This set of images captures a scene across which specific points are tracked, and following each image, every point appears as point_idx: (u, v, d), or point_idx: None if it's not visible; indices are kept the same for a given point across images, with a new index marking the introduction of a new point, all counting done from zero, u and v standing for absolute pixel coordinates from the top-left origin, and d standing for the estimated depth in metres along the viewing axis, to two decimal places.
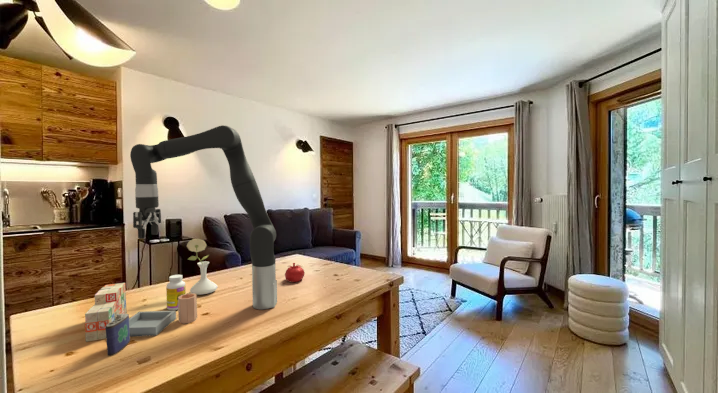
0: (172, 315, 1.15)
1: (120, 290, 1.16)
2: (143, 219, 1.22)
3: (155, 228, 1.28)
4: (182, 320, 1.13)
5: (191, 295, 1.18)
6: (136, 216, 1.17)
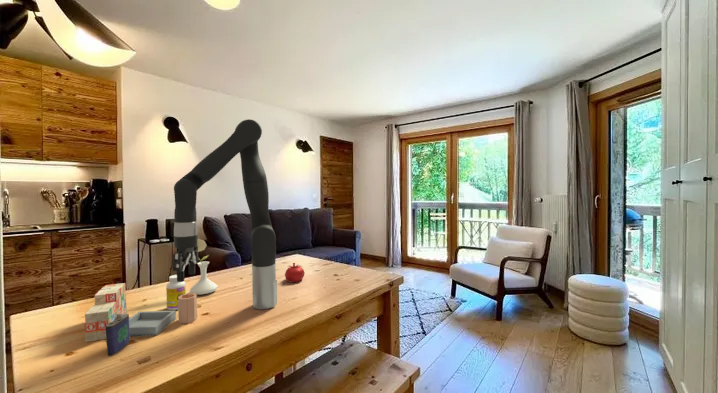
0: (172, 315, 1.15)
1: (120, 290, 1.15)
2: (182, 260, 1.12)
3: (193, 267, 1.19)
4: (182, 320, 1.13)
5: (191, 295, 1.18)
6: (176, 258, 1.08)
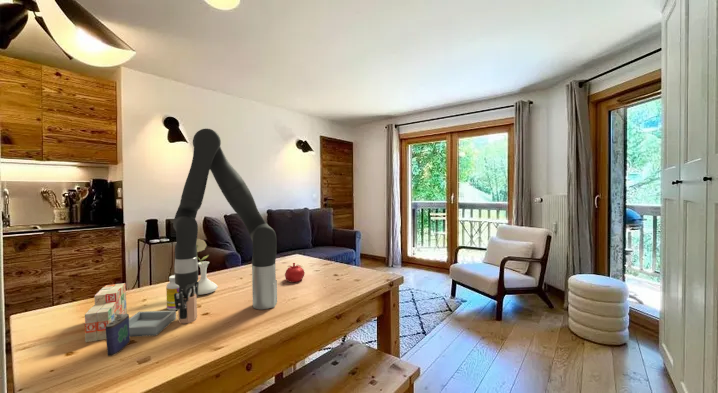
0: (172, 315, 1.15)
1: (120, 290, 1.15)
2: (184, 296, 1.13)
3: None
4: (182, 320, 1.13)
5: None
6: (178, 298, 1.09)
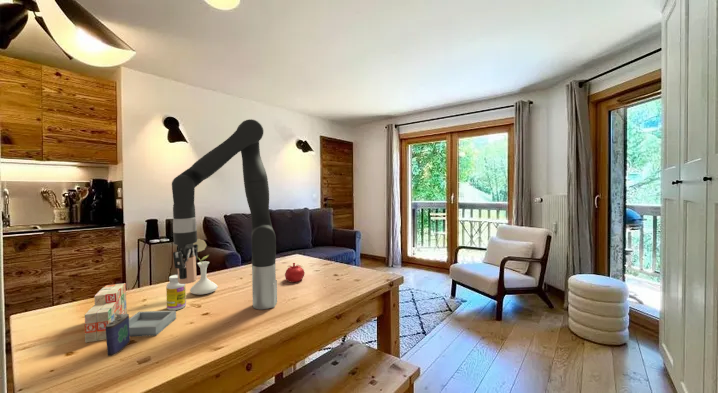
0: (172, 315, 1.15)
1: (120, 291, 1.15)
2: (183, 257, 1.12)
3: None
4: (181, 280, 1.12)
5: None
6: (177, 257, 1.08)
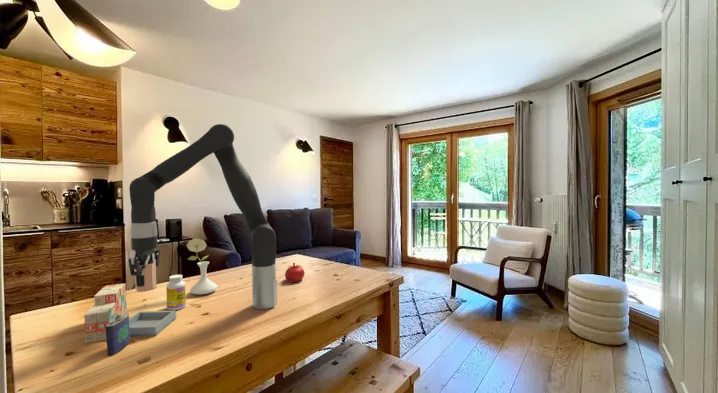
0: (172, 315, 1.15)
1: (120, 291, 1.15)
2: (141, 263, 1.07)
3: None
4: (139, 288, 1.07)
5: None
6: (132, 263, 1.02)
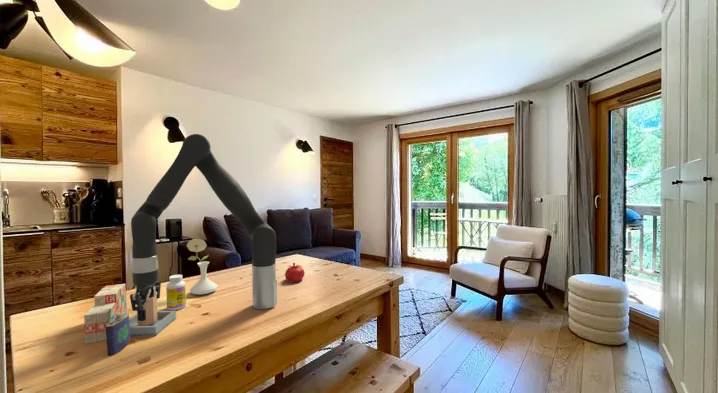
0: (172, 315, 1.15)
1: (120, 291, 1.15)
2: (142, 297, 1.07)
3: None
4: (140, 322, 1.07)
5: None
6: (134, 299, 1.03)
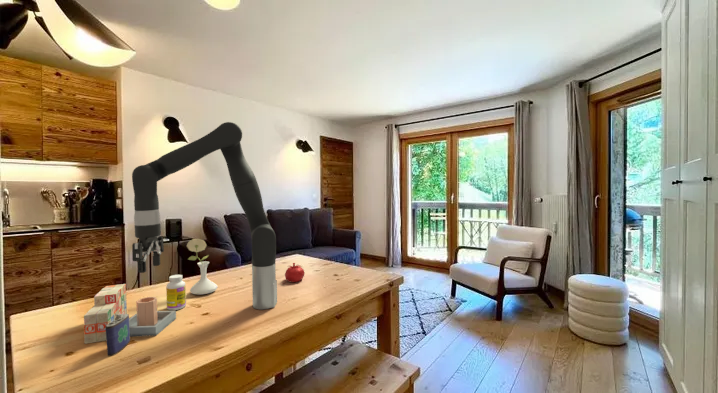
0: (172, 315, 1.15)
1: (120, 291, 1.14)
2: (144, 250, 1.07)
3: (157, 258, 1.14)
4: (140, 325, 1.07)
5: (151, 299, 1.12)
6: (136, 248, 1.03)
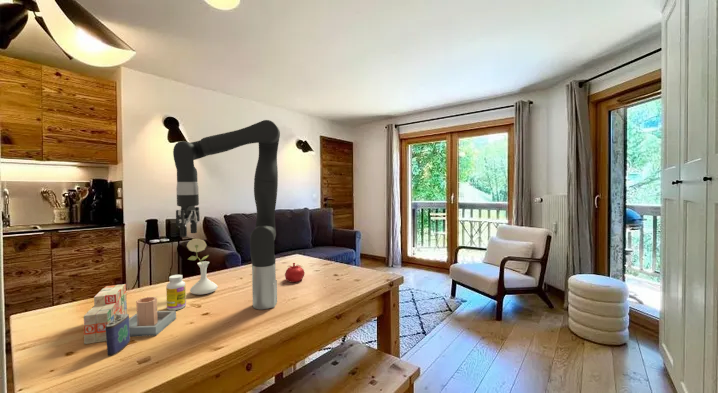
0: (172, 315, 1.15)
1: (120, 292, 1.14)
2: (184, 217, 1.20)
3: (194, 226, 1.27)
4: (140, 325, 1.07)
5: (151, 299, 1.12)
6: (179, 214, 1.16)
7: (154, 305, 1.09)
